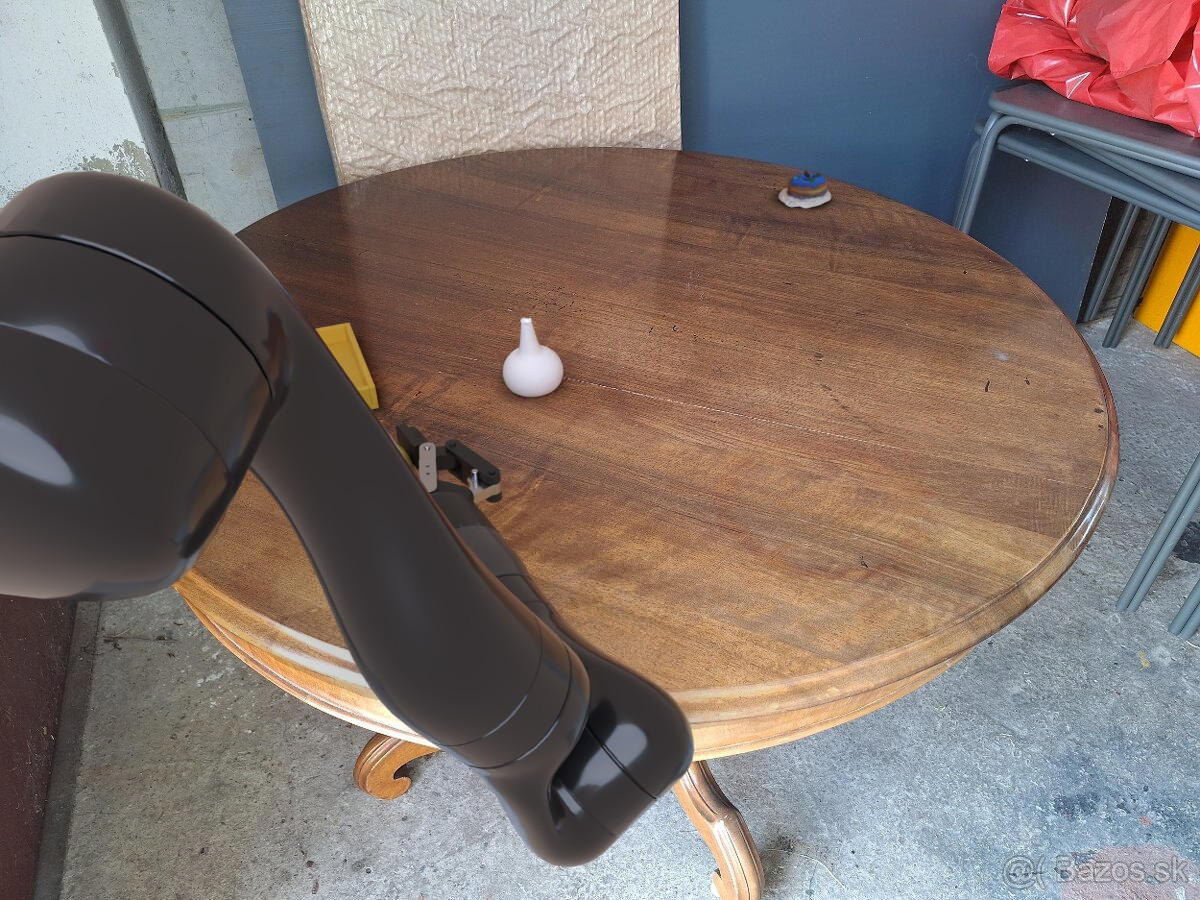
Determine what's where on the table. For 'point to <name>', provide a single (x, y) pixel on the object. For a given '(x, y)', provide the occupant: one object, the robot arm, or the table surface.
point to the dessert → (805, 191)
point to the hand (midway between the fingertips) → (364, 445)
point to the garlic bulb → (532, 365)
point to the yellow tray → (350, 359)
